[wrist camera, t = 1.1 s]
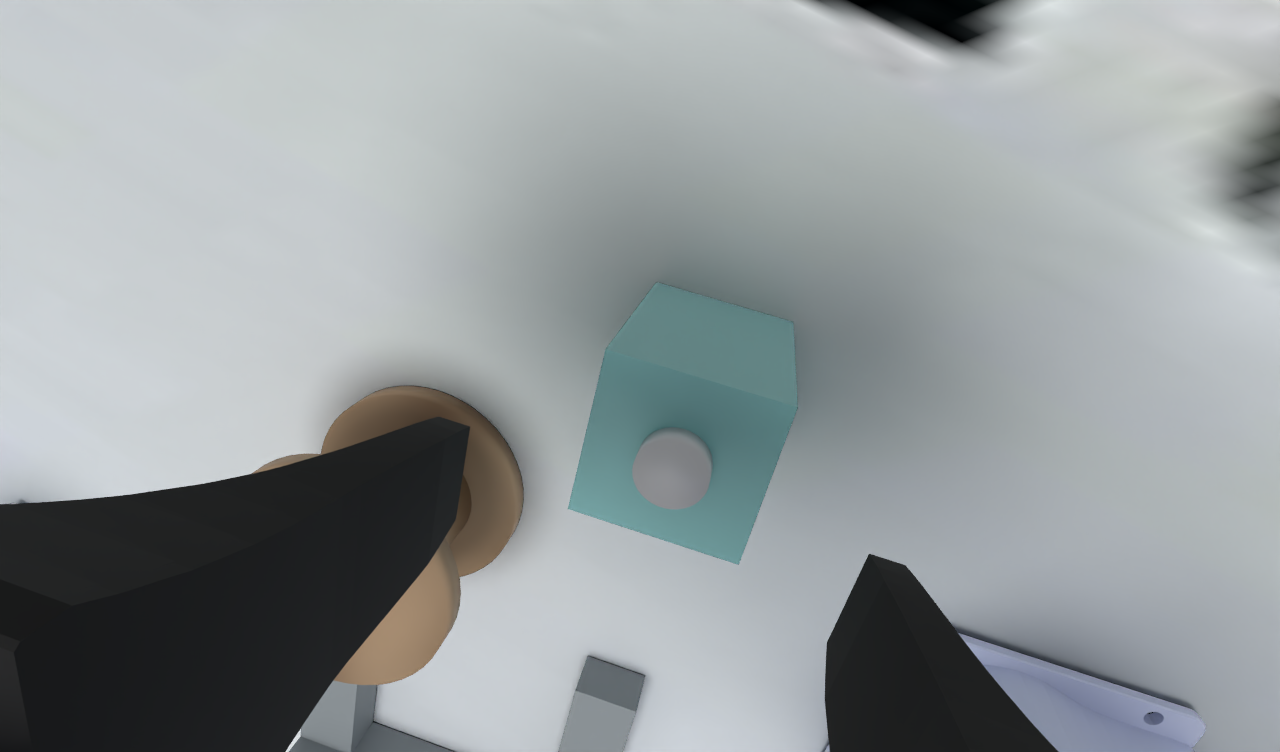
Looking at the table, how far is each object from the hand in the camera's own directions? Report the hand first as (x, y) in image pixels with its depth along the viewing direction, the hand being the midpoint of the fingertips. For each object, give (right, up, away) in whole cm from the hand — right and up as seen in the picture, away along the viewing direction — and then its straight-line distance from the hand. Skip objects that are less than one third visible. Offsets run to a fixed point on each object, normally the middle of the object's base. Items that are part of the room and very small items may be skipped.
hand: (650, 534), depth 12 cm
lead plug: (+2, +3, +8) cm, 9 cm away
